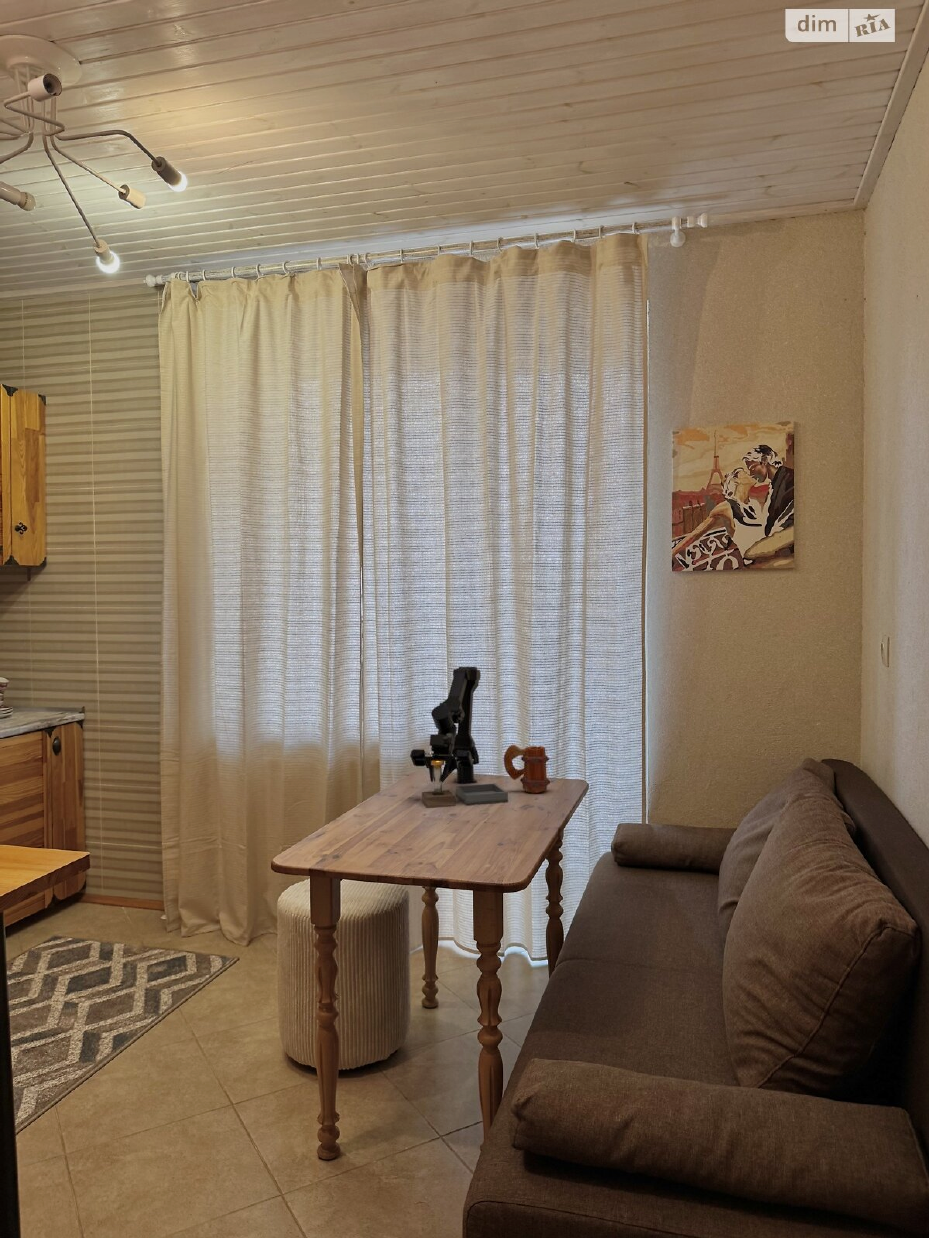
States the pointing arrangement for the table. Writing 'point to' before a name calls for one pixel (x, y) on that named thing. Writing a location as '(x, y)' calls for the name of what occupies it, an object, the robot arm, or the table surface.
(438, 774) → the pin
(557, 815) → the table surface
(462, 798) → the tray
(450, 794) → the hitch block
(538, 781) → the mug
